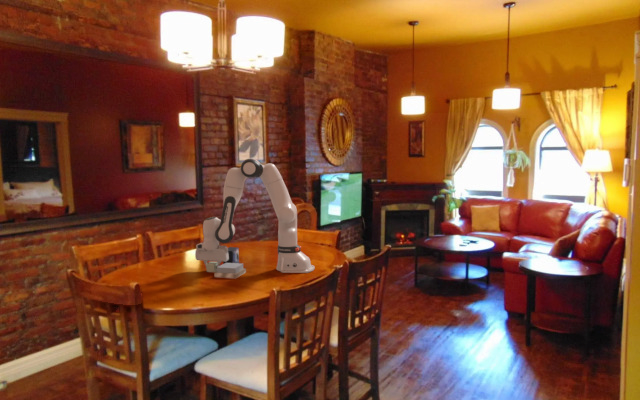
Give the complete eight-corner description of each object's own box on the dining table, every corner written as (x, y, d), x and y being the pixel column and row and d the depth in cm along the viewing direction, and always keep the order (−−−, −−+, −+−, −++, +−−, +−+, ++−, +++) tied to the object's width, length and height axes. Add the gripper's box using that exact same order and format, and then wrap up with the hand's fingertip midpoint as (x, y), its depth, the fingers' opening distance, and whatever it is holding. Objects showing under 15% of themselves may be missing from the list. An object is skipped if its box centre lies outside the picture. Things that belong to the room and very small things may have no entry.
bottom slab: (245, 273, 263) (245, 268, 263) (235, 279, 251) (235, 274, 251) (225, 272, 267) (225, 267, 267) (214, 278, 254) (214, 272, 254)
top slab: (243, 268, 263) (243, 263, 262) (235, 273, 252) (235, 268, 252) (225, 267, 265) (225, 262, 265) (217, 272, 255) (216, 267, 254)
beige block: (218, 270, 269) (218, 261, 269) (214, 272, 264) (214, 264, 264) (211, 269, 271) (210, 261, 270) (206, 271, 266) (206, 263, 265)
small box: (233, 267, 274) (232, 250, 273) (222, 267, 275) (222, 250, 274) (239, 263, 284) (239, 247, 283) (229, 263, 285) (229, 246, 284)
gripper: (230, 244, 266) (231, 267, 267) (199, 243, 272) (200, 265, 273) (225, 246, 260) (226, 270, 261) (193, 245, 266) (194, 268, 267)
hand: (212, 268), depth 267 cm, fingers open, 5 cm apart
